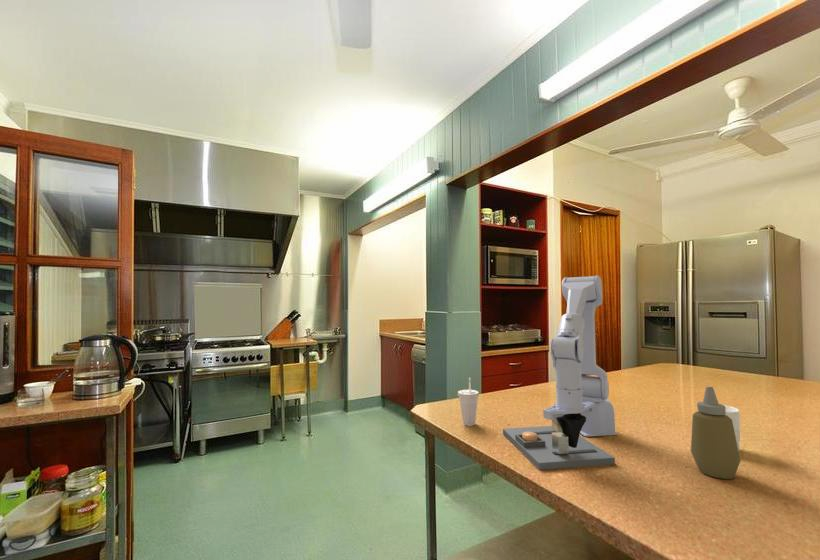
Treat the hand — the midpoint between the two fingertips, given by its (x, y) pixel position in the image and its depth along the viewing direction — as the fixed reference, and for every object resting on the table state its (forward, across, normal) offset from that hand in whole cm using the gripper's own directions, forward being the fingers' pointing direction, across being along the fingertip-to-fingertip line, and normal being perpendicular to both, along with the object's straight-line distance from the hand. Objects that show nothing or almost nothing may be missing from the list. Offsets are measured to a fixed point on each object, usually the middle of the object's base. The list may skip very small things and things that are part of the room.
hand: (571, 446), depth 84 cm
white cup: (+3, -37, +11) cm, 39 cm away
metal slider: (+1, +3, -1) cm, 3 cm away
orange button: (+1, +5, -9) cm, 10 cm away
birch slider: (+1, -8, -11) cm, 14 cm away
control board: (+3, -1, -7) cm, 8 cm away
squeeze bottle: (+3, -22, +18) cm, 28 cm away
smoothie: (+3, +8, -32) cm, 33 cm away
